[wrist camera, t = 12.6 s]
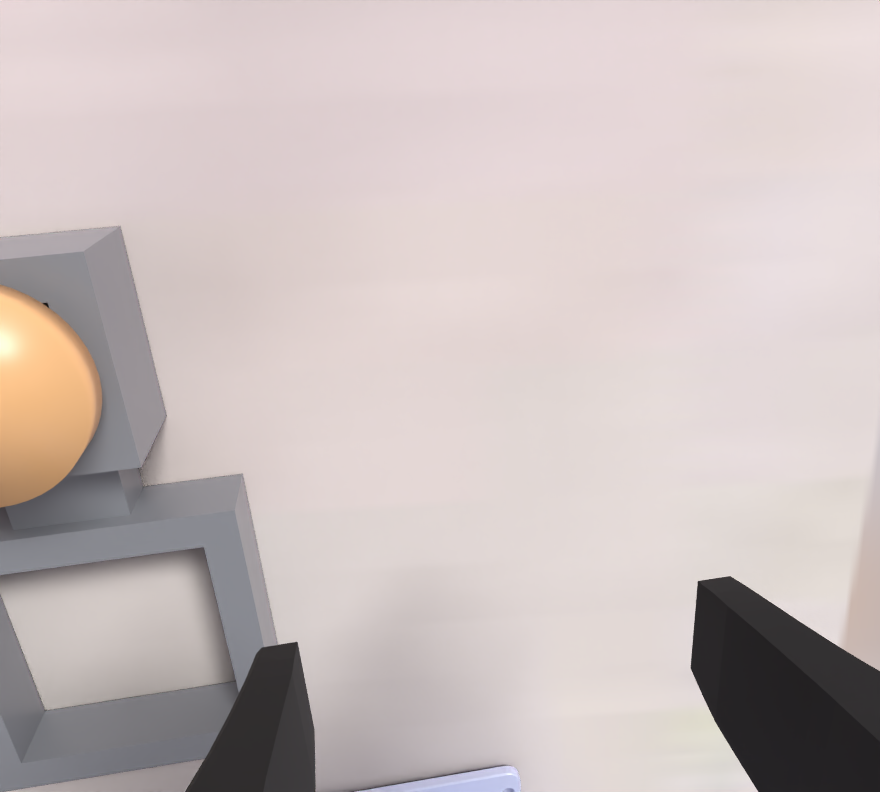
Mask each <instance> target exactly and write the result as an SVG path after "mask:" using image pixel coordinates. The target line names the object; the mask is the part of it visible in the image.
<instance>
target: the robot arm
mask: <svg viewBox="0 0 880 792" xmlns="http://www.w3.org/2000/svg"><path fill="white" fill-rule="evenodd" d="M691 670H692V672H693V675H694V677H695V679H696V681H697V684H698V686H699V688H700V690H701V692H702V695H703V697H704V699H705V701H706V703H707V705H708V707H709V710H710V712H711V714H712V716H713V718H714V720H715V722H716V724H717V725H718V727H719V729H720V730H721V732H722V734H723V735H724V737H725V739H726V740H727V742H728V743H729V745H730V747H731V748H732V750H733V752H734V753H735V755H736V756H737V758H738V760H739V761H740V763H741V765H742V766H743V768H744V769H745V771H746V773H747V774H748V776H749V777H750V779H751V781H752V782H753V784H754V785H755V787H756V789H757V790H758V792H880V671H878V670H877V669H875V668H873V667H871V666H869V665H868V664H866V663H865V662H863V661H861V660H859V659H858V658H856V657H854V656H853V655H851V654H850V653H848V652H846V651H845V650H843V649H842V648H840V647H838V646H837V645H835V644H833V643H832V642H830V641H829V640H827V639H826V638H824V637H822V636H821V635H819V634H818V633H816V632H815V631H813V630H812V629H810V628H809V627H807V626H805V625H804V624H802V623H801V622H799V621H798V620H796V619H795V618H793V617H792V616H790V615H789V614H787V613H786V612H784V611H783V610H781V609H780V608H778V607H777V606H775V605H774V604H772V603H771V602H769V601H768V600H766V599H765V598H763V597H762V596H760V595H759V594H757V593H756V592H754V591H753V590H751V589H750V588H748V587H746V586H745V585H743V584H742V583H740V582H739V581H737V580H735V579H734V578H732V577H730V576H729V577H722V578H715V579H709V580H702V581H698V587H697V599H696V611H695V623H694V635H693V646H692V658H691ZM185 792H315V740H314V726H313V721H312V715H311V710H310V705H309V700H308V694H307V689H306V684H305V679H304V674H303V668H302V663H301V658H300V653H299V648H298V642H294V643H287V644H281V645H274V646H267V647H262V648H261V649H260V650H259V651H258V652H257V653H256V655H255V658H254V660H253V663H252V665H251V668H250V670H249V672H248V675H247V677H246V679H245V681H244V684H243V686H242V688H241V690H240V692H239V694H238V697H237V699H236V701H235V703H234V705H233V707H232V709H231V711H230V713H229V715H228V717H227V719H226V721H225V723H224V724H223V726H222V728H221V730H220V732H219V734H218V736H217V738H216V740H215V741H214V743H213V745H212V747H211V749H210V751H209V753H208V754H207V756H206V758H205V760H204V761H203V763H202V765H201V766H200V768H199V770H198V771H197V773H196V775H195V776H194V778H193V780H192V781H191V783H190V785H189V786H188V788H187V790H186V791H185ZM356 792H521V782H520V777H519V773H518V770H517V769H516V768H515V767H512V766H501V767H495V768H489V769H483V770H478V771H472V772H466V773H460V774H454V775H449V776H443V777H437V778H431V779H425V780H420V781H414V782H408V783H402V784H396V785H391V786H385V787H379V788H373V789H368V790H362V791H356Z"/></svg>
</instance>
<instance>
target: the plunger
mask: <svg viewBox="0 0 880 792" xmlns="http://www.w3.org/2000/svg"><path fill="white" fill-rule="evenodd" d="M101 410H102V388H101V383H100V378H99V374H98V371H97V368H96V365H95V363H94V360H93V358H92V357H91V355H90V353H89V351H88V349H87V347H86V346H85V344H84V343H83V341H82V340H81V338H80V337H79V336H78V335H77V333H76V332H75V331H74V330H73V329H72V328H71V327H70V325H69V324H68V323H67V322H65V321H64V320H63V319H62V318H61V317H60V316H59V315H58V314H57V313H55V312H54V311H52V310H51V309H50V308H49V305H48V304H46V303H41V302H39V301H37V300H36V299H34V298H32V297H30V296H29V295H26V294H24V293H22V292H20V291H17V290H15V289H13V288H10V287H6V286H3V285H0V508H1V507H6V506H11V505H16V504H19V503H22V502H25V501H29V500H31V499H33V498H35V497H37V496H40V495H42V494H43V493H45V492H47V491H48V490H50V489H51V488H53V487H54V486H55V485H57V484H58V483H59V482H60V481H61V480H63V479H64V478H65V477H66V475H67V474H68V473H69V472H70V471H71V470H72V468H73V467H74V465H75V464H76V462H77V461H78V459H79V458H80V456H81V455H82V453H83V452H84V450H85V449H86V447H87V446H88V444H89V443H90V441H91V440H92V438H93V436H94V434H95V432H96V429H97V427H98V424H99V420H100V416H101Z"/></svg>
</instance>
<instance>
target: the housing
mask: <svg viewBox="0 0 880 792" xmlns="http://www.w3.org/2000/svg"><path fill="white" fill-rule="evenodd" d="M0 285H3V286H6V287H10V288H13V289H15V290H17V291H20V292H22V293H24V294H26V295H29V296H30V297H32V298H34V299H36V300H37V301H39V302H41V303H47V302H48V305H49V308H50V309H51V310H52V311H54V312H55V313H57V314H58V315H59V316H60V317H61V318H62V319H63V320H64V321H65V322H67V323H68V324H69V325H70V327H71V328H72V329H73V330H74V331H75V332H76V333H77V335H78V336H79V337H80V338H81V340H82V341H83V343H84V344H85V346H86V347H87V349H88V351H89V353H90V355H91V357H92V358H93V360H94V363H95V365H96V368H97V371H98V374H99V378H100V383H101V388H102V410H101V416H100V420H99V424H98V427H97V429H96V432H95V434H94V436H93V438H92V440H91V441H90V443H89V444H88V446H87V447H86V449H85V450H84V452H83V453H82V455H81V456H80V458H79V459H78V461H77V462H76V464H75V465H74V467H73V468H72V470H71V471H70V472H69V473H68V474H67V475H66V477H65V478H64V479H63V480H61V481H60V482H59V483H58V484H57V485H55V486H54V487H53V488H51V489H50V490H48V491H47V492H45V493H43V494H42V495H40V496H37V497H35V498H33V499H31V500H29V501H25V502H22V503H19V504H16V505H11V506H6V507H1V508H0V575H5V574H12V573H19V572H27V571H34V570H41V569H48V568H56V567H63V566H70V565H78V564H85V563H92V562H99V561H107V560H114V559H121V558H128V557H136V556H143V555H150V554H157V553H165V552H172V551H179V550H186V549H194V548H201V547H204V550H205V554H206V559H207V563H208V567H209V571H210V575H211V579H212V583H213V588H214V592H215V596H216V600H217V604H218V608H219V612H220V617H221V621H222V625H223V629H224V633H225V637H226V642H227V646H228V650H229V654H230V658H231V662H232V666H233V671H234V675H235V679H236V681H234V682H228V683H222V684H215V685H209V686H202V687H196V688H190V689H183V690H177V691H170V692H164V693H157V694H151V695H145V696H138V697H132V698H125V699H119V700H112V701H106V702H100V703H93V704H87V705H80V706H74V707H68V708H61V709H55V710H48V711H45V709H44V707H43V704H42V702H41V699H40V697H39V694H38V691H37V689H36V686H35V684H34V681H33V678H32V676H31V673H30V671H29V668H28V665H27V663H26V660H25V658H24V655H23V653H22V650H21V647H20V645H19V642H18V640H17V637H16V634H15V632H14V629H13V627H12V624H11V622H10V619H9V616H8V614H7V611H6V609H5V606H4V603H3V601H2V598H1V596H0V792H5V791H11V790H17V789H23V788H30V787H36V786H42V785H48V784H54V783H60V782H66V781H72V780H78V779H84V778H90V777H96V776H102V775H108V774H114V773H120V772H126V771H133V770H139V769H145V768H151V767H157V766H163V765H169V764H175V763H181V762H187V761H193V760H199V759H205V758H206V756H207V754H208V753H209V751H210V749H211V747H212V745H213V743H214V741H215V740H216V738H217V736H218V734H219V732H220V730H221V728H222V726H223V724H224V723H225V721H226V719H227V717H228V715H229V713H230V711H231V709H232V707H233V705H234V703H235V701H236V699H237V697H238V694H239V692H240V690H241V688H242V686H243V684H244V681H245V679H246V677H247V675H248V672H249V670H250V668H251V665H252V663H253V660H254V658H255V655H256V653H257V652H258V651H259V650H260V649H261V648H262V647H267V646H274V645H278V643H277V638H276V633H275V628H274V623H273V618H272V614H271V609H270V604H269V599H268V594H267V589H266V584H265V580H264V575H263V570H262V565H261V560H260V555H259V550H258V546H257V541H256V536H255V531H254V526H253V521H252V516H251V512H250V507H249V502H248V497H247V492H246V487H245V482H244V478H243V474H237V475H230V476H222V477H214V478H206V479H199V480H191V481H183V482H175V483H168V484H160V485H152V486H144V487H143V483H142V479H141V476H140V472H139V468H141V467H142V465H143V463H144V461H145V459H146V457H147V455H148V453H149V451H150V449H151V447H152V445H153V443H154V440H155V438H156V436H157V434H158V432H159V430H160V428H161V426H162V424H163V422H164V420H165V418H166V416H167V415H166V411H165V407H164V403H163V399H162V395H161V391H160V386H159V382H158V378H157V374H156V370H155V366H154V362H153V358H152V354H151V350H150V346H149V341H148V337H147V333H146V329H145V325H144V321H143V317H142V313H141V309H140V305H139V301H138V296H137V292H136V288H135V284H134V280H133V276H132V272H131V268H130V264H129V260H128V256H127V251H126V247H125V243H124V239H123V235H122V231H121V227H120V226H116V227H105V228H95V229H84V230H74V231H63V232H52V233H42V234H31V235H21V236H10V237H0Z"/></svg>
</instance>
